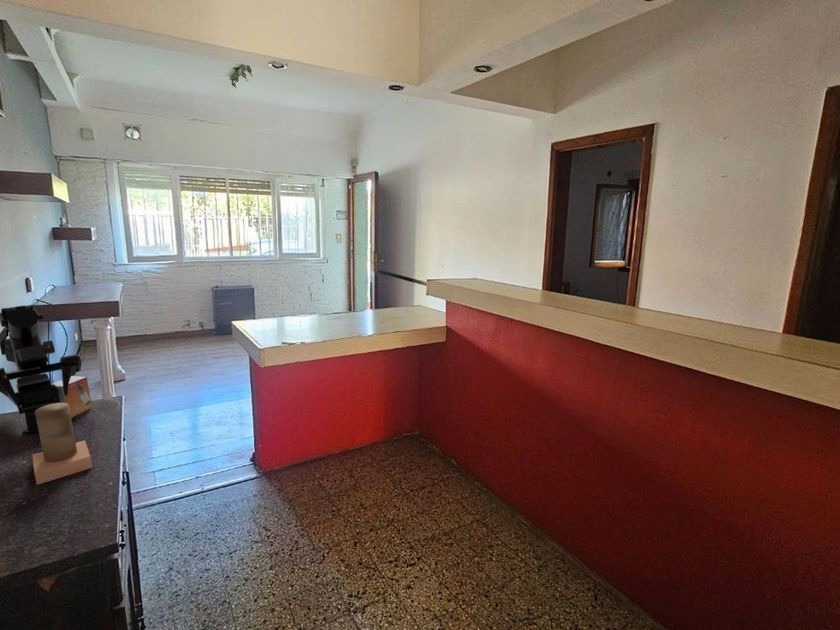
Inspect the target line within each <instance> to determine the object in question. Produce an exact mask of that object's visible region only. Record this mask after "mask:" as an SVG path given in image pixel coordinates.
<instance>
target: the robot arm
mask: <svg viewBox="0 0 840 630" xmlns="http://www.w3.org/2000/svg"><path fill="white" fill-rule="evenodd" d="M43 319H44V317H43V314H42V313H41V312H40V311H38V309H37V308H34V307H33V305H31V304H30V305H17V306H16V305H15V306H12V307H3V308H0V327H3V328H2V329H1V332H0V353H1V356H5V359H6V361H7V362H12V363H15V367H16V370H12V371H8V372H6V370H5V368H4V367H1V368H0V393H1V394H3V395H4V396H5V397H7V399H9V400H10V401H11V402H12V403H13V405H14V406H15V407H16V408H17V412H18V414H19V415H22V414H24V416H25V424H26V427H27V428H25V429H24V430H22V431H21V433H22V434H32V433H33V434H35V433H39V430H38V425H37V420H36V415H35V411H36V410H37V409H38V408H40V407H43V406H45V405H49V404H54V403H60V402H61V400H60V392H59V388H57V387H56V386H55V384H53V383H52V382H51V380H50V377H49V375H48V373H50V372H55V371H61V380H62V383H63V390H64V394H65V396H67V394H68V385H69V381H70V378H71V376H76V373H79V372H81V369H82V358H81V357H80V355H78V354H71V355H65V356H61V357H60V356H59V357H60V359H59V362H54V363H50V364H49V363H48V362H49V358H48V355H52V354H55V352H56V351H55V350H56V349H55V344H54V342H53V340H45V341H43V342H42V340H41V337H40V335H39V332H40V322H42V320H43ZM8 337H9V338H8ZM10 380H11V381H12V380H16V383H17V384H15V385H16V386H15V387H16V390H17V392H16V391H15V390H14V388H13V386H12V384H11V381H10ZM52 384H53V385H52Z"/></svg>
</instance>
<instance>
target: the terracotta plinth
mask: <svg viewBox="0 0 840 630" xmlns="http://www.w3.org/2000/svg"><path fill="white" fill-rule="evenodd" d="M76 448H77V453H76V454H75V455H74V456H72V457H70V458H68V459H65V460H62V461H58V462H46V461H45V460H44V455H43V451H41V452H38V453H37V452H36V453H34V454H33V453H32V463H33V464H32V465H33V471H34V472H33V473H34V478H35V482H36V486H39V485H40V484H44V483H47V482H52V481H53V480H56V479H60V478H64V477H67V476H70V475H73V474H77V473H80V472H83V471H85V470H91V469H92V468H93V463H92V458H91V455H90V451H89V448H88V446H87V442H86V440H80V441H78V442H76Z"/></svg>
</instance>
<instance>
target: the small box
mask: <svg viewBox="0 0 840 630" xmlns="http://www.w3.org/2000/svg"><path fill="white" fill-rule="evenodd" d="M53 384H55V386H56V387H57V388H59V392H60V400H61V402H60V403H67V404H69V409H70V415H71V419H72V418H74V416H75V417H77V416H78V414H79V415H81V414H83V413H85V412H84V411H86V410H88V409H90V408H92V409H93V405H92V399H91V394H90V392H91V391H90V389H89V383H88V377H87V376H78V375H74V376H71V378H70V381H69V385H68V394H67V396H65V394H64V390H63V383H62V379H61V380H58V381H56V382H53V383H52V385H53ZM82 402H84V403H82ZM90 410H91V409H90ZM88 411H89V410H88ZM82 412H83V413H82ZM86 412H87V411H86ZM80 413H81V414H80ZM76 415H77V416H76Z"/></svg>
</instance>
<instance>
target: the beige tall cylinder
mask: <svg viewBox="0 0 840 630" xmlns="http://www.w3.org/2000/svg"><path fill="white" fill-rule="evenodd" d="M35 415H36V420H37V425H38V430H39V432H38V434H39V440H40V445H41V450H42V452H43V455H44V460H45V461H46V462H58V461H62V460H65V459H68V458H70V457H72V456H74V455H75V454H76V453H77V448H76V443H77V442H76V439H75V432H74V426H73V421H72V418H71V415H70V409H69V404H67V403H54V404H49V405H45V406H43V407H40V408H38V409H37V410H36V411H35Z"/></svg>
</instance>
